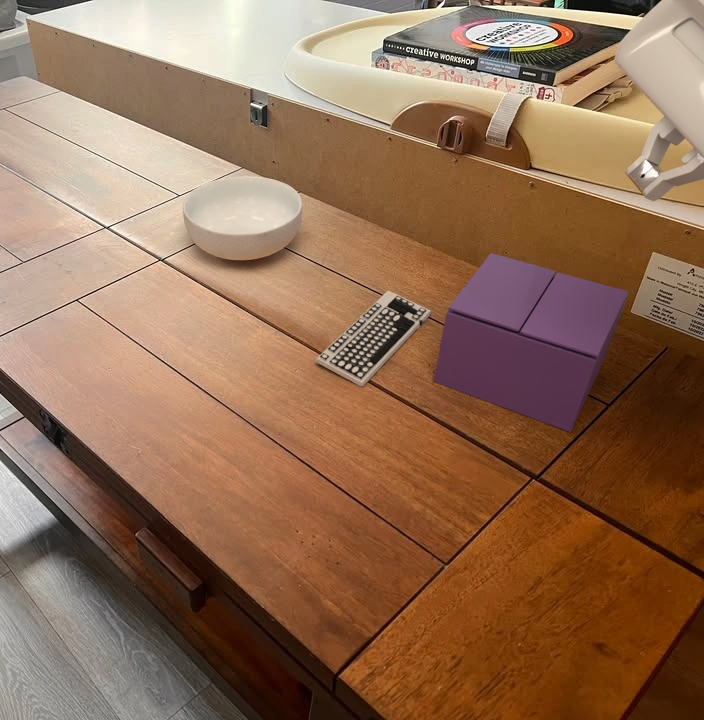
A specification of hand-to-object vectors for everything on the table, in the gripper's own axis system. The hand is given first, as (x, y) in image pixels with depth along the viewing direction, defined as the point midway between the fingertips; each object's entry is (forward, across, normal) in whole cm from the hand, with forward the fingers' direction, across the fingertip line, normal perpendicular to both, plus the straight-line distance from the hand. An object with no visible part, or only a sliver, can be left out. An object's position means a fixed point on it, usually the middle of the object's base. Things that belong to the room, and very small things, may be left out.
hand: (638, 187), depth 59 cm
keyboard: (+34, +13, -8) cm, 37 cm away
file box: (+25, +2, -17) cm, 31 cm away
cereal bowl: (+45, +38, -3) cm, 59 cm away
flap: (+15, +3, -15) cm, 21 cm away
